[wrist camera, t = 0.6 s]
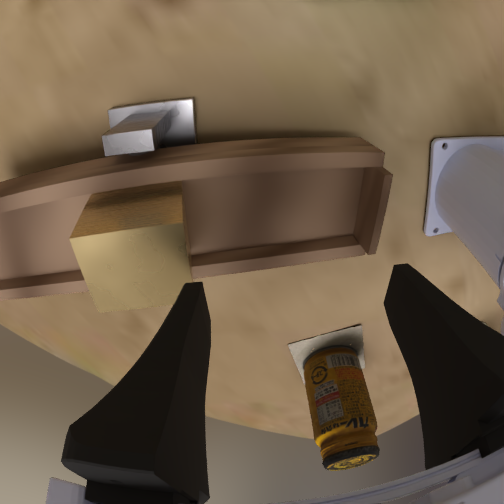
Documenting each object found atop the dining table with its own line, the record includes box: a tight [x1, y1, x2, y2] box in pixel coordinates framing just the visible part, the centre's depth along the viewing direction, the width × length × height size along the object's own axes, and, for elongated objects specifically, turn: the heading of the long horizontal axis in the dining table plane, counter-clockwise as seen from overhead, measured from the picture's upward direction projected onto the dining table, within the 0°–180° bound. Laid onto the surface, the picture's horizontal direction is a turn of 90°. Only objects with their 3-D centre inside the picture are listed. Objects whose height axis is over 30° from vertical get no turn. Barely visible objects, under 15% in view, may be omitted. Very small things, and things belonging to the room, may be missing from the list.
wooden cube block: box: [69, 180, 193, 313], centre depth 14 cm, size 4×4×4 cm
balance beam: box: [0, 137, 393, 300], centre depth 16 cm, size 24×7×4 cm, turn 90°
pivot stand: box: [102, 98, 197, 156], centre depth 17 cm, size 5×10×5 cm, turn 0°
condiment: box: [288, 325, 379, 471], centre depth 27 cm, size 7×8×12 cm
